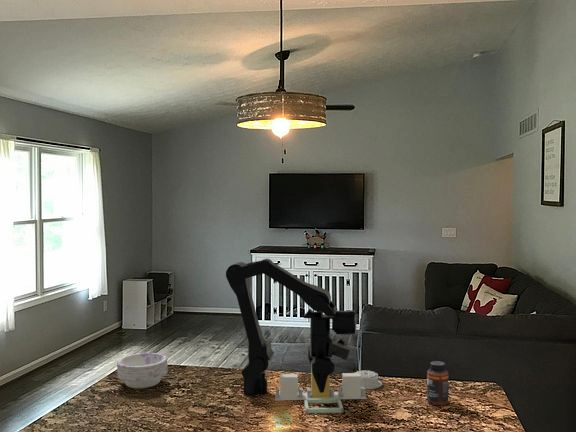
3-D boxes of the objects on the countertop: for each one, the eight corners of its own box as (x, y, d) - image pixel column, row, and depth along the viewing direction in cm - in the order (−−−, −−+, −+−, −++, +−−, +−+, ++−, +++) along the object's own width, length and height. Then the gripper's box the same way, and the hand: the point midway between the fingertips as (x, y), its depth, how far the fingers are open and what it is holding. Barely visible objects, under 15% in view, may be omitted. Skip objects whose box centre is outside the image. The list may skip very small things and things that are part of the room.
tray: (306, 416, 157) (306, 409, 156) (304, 405, 165) (304, 398, 164) (343, 416, 157) (343, 408, 157) (339, 405, 165) (339, 398, 165)
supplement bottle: (450, 400, 168) (450, 361, 168) (446, 407, 163) (446, 367, 163) (429, 397, 171) (429, 358, 170) (424, 404, 166) (425, 364, 165)
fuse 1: (280, 398, 168) (280, 377, 167) (280, 394, 171) (280, 374, 170) (298, 397, 168) (298, 377, 168) (297, 394, 171) (297, 373, 171)
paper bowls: (107, 389, 179) (106, 363, 178) (134, 374, 193) (134, 350, 193) (151, 394, 174) (151, 367, 174) (176, 378, 189) (176, 354, 188)
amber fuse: (312, 397, 168) (312, 370, 168) (311, 394, 171) (311, 366, 171) (329, 397, 168) (329, 369, 168) (328, 393, 171) (328, 366, 171)
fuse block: (275, 403, 166) (275, 393, 166) (275, 396, 172) (274, 386, 172) (366, 402, 167) (366, 391, 167) (363, 394, 173) (363, 384, 173)
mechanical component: (383, 393, 175) (381, 382, 185) (383, 379, 175) (381, 368, 185) (349, 392, 176) (349, 381, 186) (349, 378, 176) (349, 368, 186)
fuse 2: (343, 397, 168) (343, 376, 168) (342, 393, 171) (342, 373, 171) (360, 396, 169) (360, 376, 168) (359, 393, 172) (359, 373, 171)
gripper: (353, 341, 160) (352, 398, 161) (343, 325, 179) (343, 376, 179) (312, 341, 159) (312, 398, 160) (307, 326, 178) (307, 377, 179)
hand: (320, 387), depth 170 cm, fingers open, 9 cm apart
